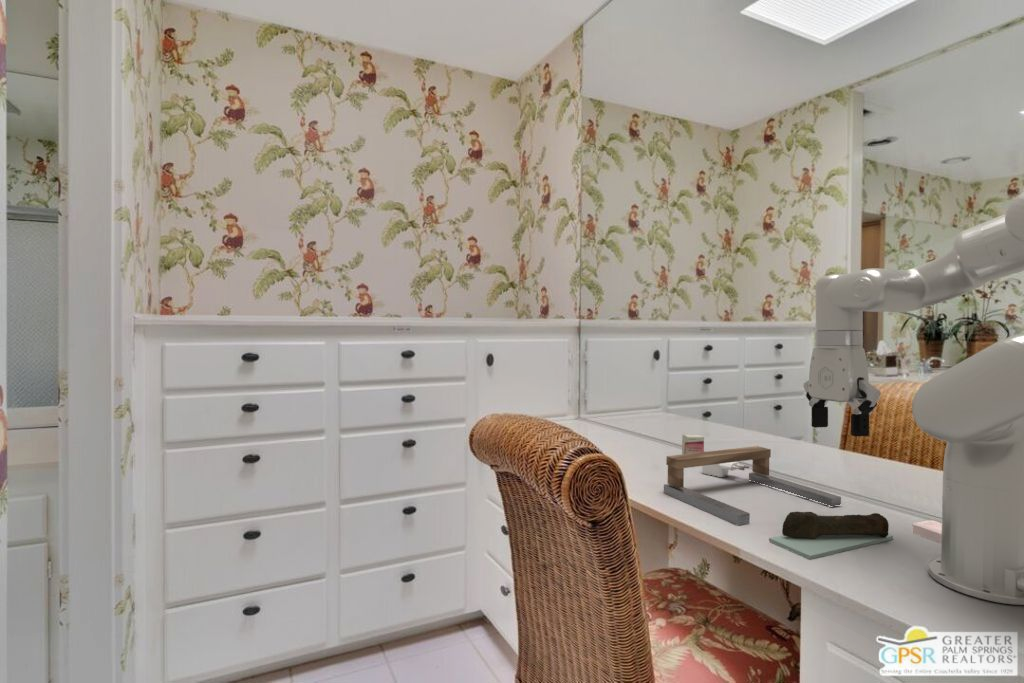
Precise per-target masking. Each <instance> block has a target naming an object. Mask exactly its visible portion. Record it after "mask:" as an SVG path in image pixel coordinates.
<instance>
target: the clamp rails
mask: <svg viewBox="0 0 1024 683" xmlns="http://www.w3.org/2000/svg"><path fill="white" fill-rule="evenodd" d="M749 480H751V481H755V482H758V483H761V484H765V485H768V486H771V487H775V488H778V489H782V490H785V491H788V492H791V493H794V494H797V495H800V496H803V497H806V498H808V499H812V500H815V501H818V502H821V503H824V504H827V505H830V506H835V505H840V504H841V505H842V496H841V495H840V496H839V495H837V494H833V493H829V492H827V491H822V490H820V489H816V488H813V487H810V486H807V485H803V484H800V483H797V482H793V481H789V480H786V479H783V478H780V477H776V476H773V475H770V474H769V475H766V476H765V475H762V474H759V473H755V472H749V473H748V481H749ZM751 481H750V482H751ZM761 484H760V485H761ZM663 494H665V495H667V496H669V497H671V498H674V499H676V500H678V501H681V502H683V503H686V504H688V505H690V506H693V507H695V508H697V509H700V510H702V511H704V512H706V513H708V514H710V515H713V516H716V517H718V518H720V519H723V520H725V521H727V522H730V523H731V524H734V525H736V526H742V525H749V524H750V518H751V516H750V515H751V514H750V513H749V512H747V511H745V510H742V509H740V508H737V507H735V506H732V505H730V504H727V503H725V502H723V501H720V500H717V499H715V498H712V497H710V496H708V495H705V494H702V493H700V492H698V491H694V490H692V489H691V488H687V487H685V486H684V487H683V488H678V487H676V486H673V485H671V484H668V483H665V484H663Z"/></svg>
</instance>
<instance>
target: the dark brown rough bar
mask: <svg viewBox="0 0 1024 683" xmlns="http://www.w3.org/2000/svg"><path fill="white" fill-rule="evenodd" d="M889 527H890V526H889V521H888V519H887V518H886V517H885V516H884V515H882V514H881V513H878V512H873V513H871V514H845V515H818V514H817V513H815V512H812V511H791V512H789V513H788V514H787V515H786V517H785V519H784V521H783V524H782V535H784V536H787V537H795V538H807V539H816V537H817V536H821V535H879V536H881V537H883V538H886V537H887V536H888V534H889V531H890V530H889V529H890V528H889Z"/></svg>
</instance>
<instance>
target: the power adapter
mask: <svg viewBox="0 0 1024 683" xmlns="http://www.w3.org/2000/svg"><path fill="white" fill-rule="evenodd" d="M709 451H710V450H709ZM709 451H707V452H709ZM701 467H702V468H701V469H702V473H703V474H705V475H707V476H711V475H712V477H716V476H717V478H724V477H726V476H729V475H728V474H729V471H735V470H740V471H745V469H746V470H747V469H748V470H749V468H750V466H748V465H746V464H740V461H737V462H729V463H721V464H713V465H705V466H701Z"/></svg>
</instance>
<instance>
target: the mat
mask: <svg viewBox="0 0 1024 683" xmlns="http://www.w3.org/2000/svg"><path fill="white" fill-rule="evenodd" d="M891 540H894V535H891V534H889V533H888V536H887V537H886V538H883V537H881V536H879V535H821V536H817V537H816V539H807V538H795V537H787V536H784V535H783V534H782V535H778V536H773V537H769V538H768V541H770V543H771V542H772V544H774V545H776V546H778V547H781V548H783V549H785V548H786V550H787V549H788V551H789V552H792V551H793V552H792V553H794V552H795V553H794V554H796V553H798V554H797V555H799V554H800V555H799V556H801V555H802V556H801V557H803V556H805V557H804V558H806V557H807V558H806V559H808V558H809V559H808V560H813V559H812V558H814V559H816V557H818V558H821V557H820V556H822V557H826V556H830V555H834V554H838V553H842V552H846V551H851V550H855V549H858V548H863V547H866V546H867V547H868V546H871V545H876V544H879V543H884V542H887V541H891ZM825 555H826V556H825Z"/></svg>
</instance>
